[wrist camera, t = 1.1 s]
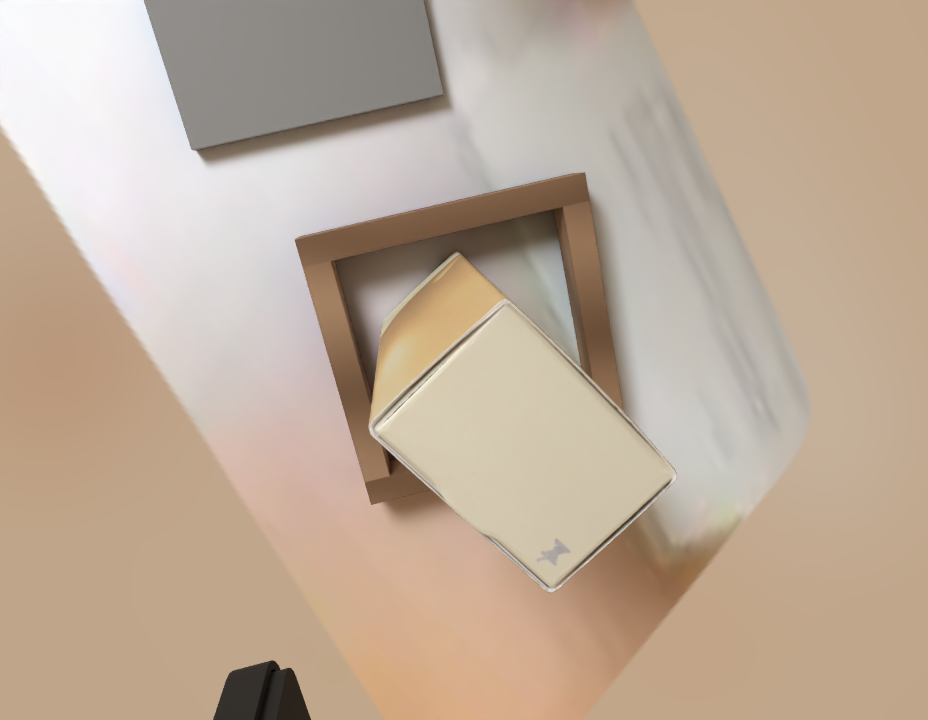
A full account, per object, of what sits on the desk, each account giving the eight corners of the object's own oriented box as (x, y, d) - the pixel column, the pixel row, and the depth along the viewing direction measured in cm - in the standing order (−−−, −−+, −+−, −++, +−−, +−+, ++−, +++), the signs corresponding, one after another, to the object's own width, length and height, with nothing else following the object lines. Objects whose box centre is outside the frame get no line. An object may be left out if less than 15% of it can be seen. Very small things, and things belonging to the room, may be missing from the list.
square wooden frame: (299, 236, 25) (294, 239, 23) (573, 173, 25) (585, 172, 24) (371, 487, 27) (371, 504, 26) (615, 426, 28) (627, 438, 27)
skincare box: (560, 354, 27) (696, 485, 15) (484, 426, 27) (559, 608, 16) (450, 240, 25) (509, 289, 14) (371, 319, 26) (361, 434, 14)
